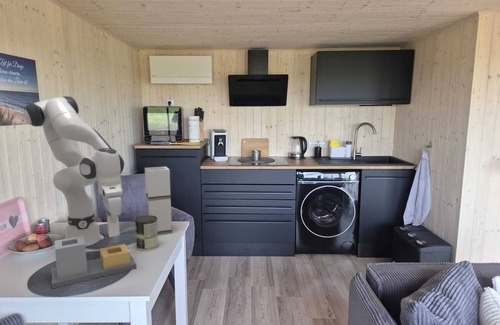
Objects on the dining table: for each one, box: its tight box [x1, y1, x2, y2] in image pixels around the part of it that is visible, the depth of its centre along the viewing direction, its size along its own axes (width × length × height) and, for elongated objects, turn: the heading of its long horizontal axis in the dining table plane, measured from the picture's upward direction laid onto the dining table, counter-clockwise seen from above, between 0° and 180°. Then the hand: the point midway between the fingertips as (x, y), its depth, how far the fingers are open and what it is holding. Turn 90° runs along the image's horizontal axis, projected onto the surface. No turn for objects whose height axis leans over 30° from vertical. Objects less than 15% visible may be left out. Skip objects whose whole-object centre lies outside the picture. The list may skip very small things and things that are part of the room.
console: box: [50, 236, 137, 289], centre depth 132 cm, size 14×30×14 cm, turn 122°
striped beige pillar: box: [144, 166, 173, 236], centre depth 175 cm, size 11×11×35 cm
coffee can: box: [134, 214, 159, 251], centre depth 156 cm, size 10×10×14 cm
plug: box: [106, 210, 120, 238], centre depth 134 cm, size 4×4×10 cm
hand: (112, 220), depth 134 cm, fingers closed on plug, 4 cm apart
